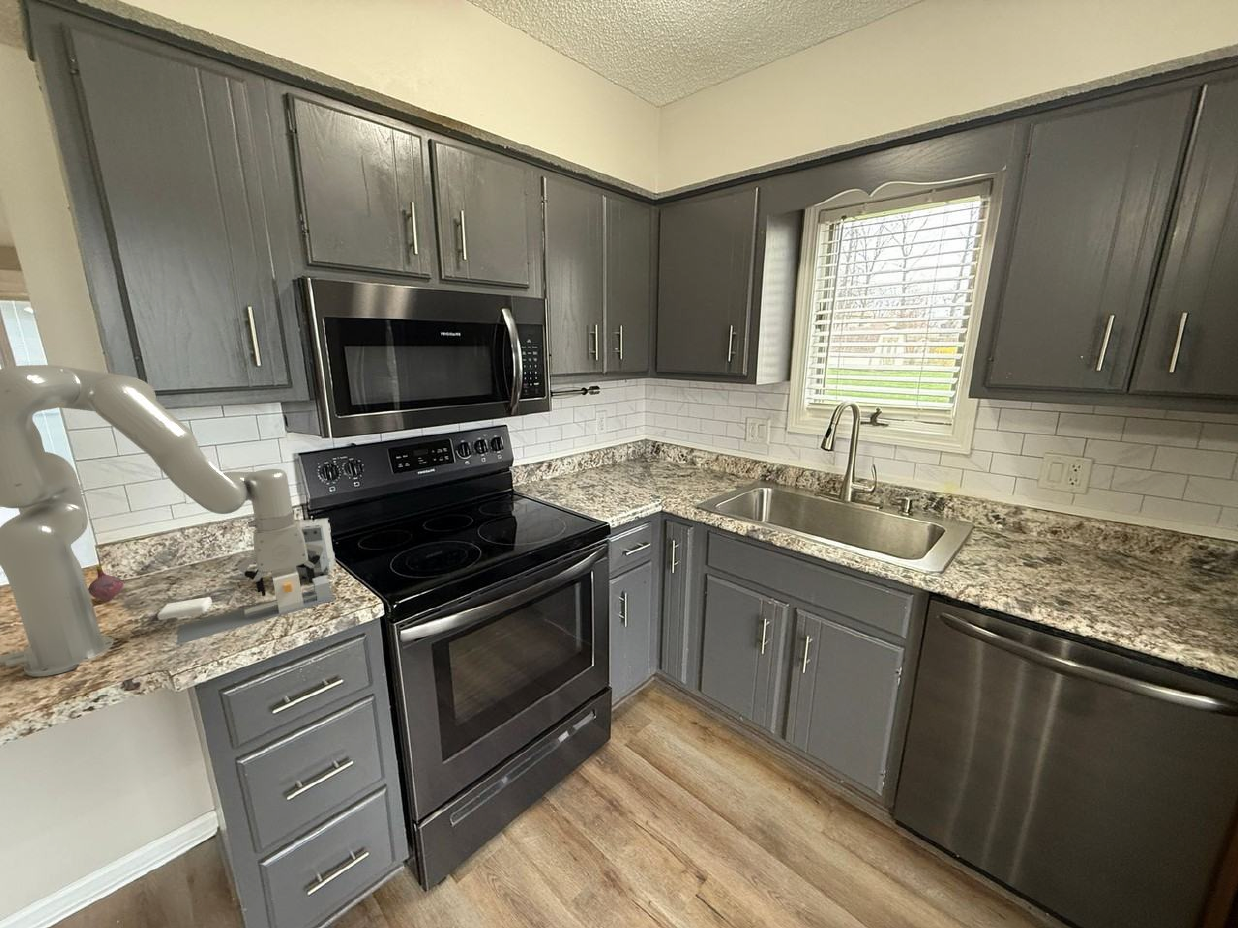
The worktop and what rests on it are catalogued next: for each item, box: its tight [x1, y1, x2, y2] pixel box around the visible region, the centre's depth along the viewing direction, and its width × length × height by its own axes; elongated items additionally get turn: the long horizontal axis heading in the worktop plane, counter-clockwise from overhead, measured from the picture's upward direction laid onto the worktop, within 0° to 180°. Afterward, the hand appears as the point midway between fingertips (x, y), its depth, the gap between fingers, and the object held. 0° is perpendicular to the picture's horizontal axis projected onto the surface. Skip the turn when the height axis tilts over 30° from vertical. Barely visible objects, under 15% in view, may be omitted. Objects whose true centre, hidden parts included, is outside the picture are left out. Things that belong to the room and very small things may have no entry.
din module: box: [270, 566, 304, 613], centre depth 120 cm, size 5×9×8 cm, turn 38°
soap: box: [157, 596, 213, 621], centre depth 119 cm, size 9×6×3 cm, turn 113°
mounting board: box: [176, 588, 336, 646], centre depth 118 cm, size 30×10×1 cm, turn 129°
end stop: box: [312, 575, 332, 600], centre depth 125 cm, size 3×5×4 cm, turn 39°
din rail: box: [244, 591, 317, 618], centre depth 120 cm, size 15×2×1 cm, turn 129°
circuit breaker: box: [296, 517, 336, 579], centre depth 136 cm, size 8×14×15 cm, turn 16°
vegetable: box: [88, 564, 124, 602], centre depth 125 cm, size 6×6×10 cm
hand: (287, 587), depth 120 cm, fingers open, 9 cm apart
